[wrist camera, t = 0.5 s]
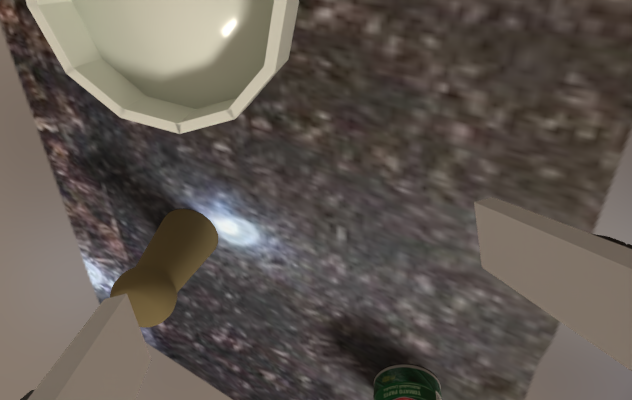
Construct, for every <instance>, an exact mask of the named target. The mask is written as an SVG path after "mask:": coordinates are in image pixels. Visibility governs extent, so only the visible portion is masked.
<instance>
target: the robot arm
mask: <svg viewBox="0 0 632 400" xmlns="http://www.w3.org/2000/svg"><path fill="white" fill-rule="evenodd" d="M474 205H475V213H476V222H477V230H478V238H479V247H480V255H481V263H482V268H484V269H485V270H487V271H488V272H490V273H491V274H492V275H494V276H495V277H497V278H498V279H500V280H501V281H503V282H504V283H505V284H507V285H508V286H510V287H511V288H513V289H514V290H516V291H517V292H518V293H520V294H521V295H523V296H524V297H526V298H527V299H528V300H530V301H531V302H533V303H534V304H536V305H537V306H539V307H540V308H541V309H543V310H544V311H546V312H547V313H549V314H550V315H552V316H553V317H554V318H556V319H557V320H559V321H560V322H562V323H563V324H564V325H566V326H568V327H569V328H570V329H572V330H573V331H575V332H576V333H578V334H579V335H580V336H582V337H583V338H585V339H586V340H588V341H589V342H590V343H592V344H593V345H595V346H596V347H598V348H599V349H600V350H602V351H603V352H605V353H606V354H608V355H609V356H611V357H612V358H613V359H615V360H616V361H618V362H619V363H621V364H622V365H624V366H625V367H626V368H628V369H629V370H631V371H632V245H630V244H627V245H626V244H625V243H624V242H621V241H619V240H616V239H613V238H610V237H606V236H601V235H595V234H590V233H587V232H584V231H582V230H579V229H576V228H574V227H571V226H568V225H566V224H563V223H560V222H558V221H555V220H552V219H550V218H547V217H544V216H542V215H539V214H536V213H534V212H531V211H528V210H525V209H523V208H520V207H517V206H515V205H512V204H509V203H507V202H504V201H501V200H499V199H496V198H493V197H492V198H488V199H484V200H480V201H476V202H474ZM150 363H151V357H150V354H149V352H148V349H147V346H146V344H145V341H144V338H143V336H142V333H141V330H140V328H139V325H138V322H137V319H136V317H135V314H134V311H133V309H132V306H131V303H130V301H129V298H128V295H127V293H126V294H122V295H119V296H115V297H111V298H107V299H104V301H103V302H102V303H101V304H100V306H99V307H98V308H97V310H96V311H95V312H94V314H93V315H92V316H91V317H90V319H89V320H88V322H87V323H86V324H85V325H84V327H83V328H82V329H81V331H80V332H79V333H78V335H77V336H76V337H75V338H74V340H73V341H72V342H71V344H70V345H69V346H68V347H67V349H66V350H65V351H64V353H63V354H62V355H61V357H60V358H59V359H58V360H57V362H56V363H55V364H54V366H53V367H52V368H51V370H50V371H49V372H48V374H47V375H46V376H45V377H44V379H43V380H42V381H41V383H40V384H39V385H38V387H37V388H36V389H35V390H32V391H30V392H29V393H27V394H26V395H25V396H24V397H23V398H22V399H20V400H136V398H137V395H138V393H139V390H140V388H141V385H142V383H143V380H144V378H145V375H146V373H147V370H148V368H149V365H150Z"/></svg>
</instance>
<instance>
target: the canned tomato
mask: <svg viewBox="0 0 632 400" xmlns="http://www.w3.org/2000/svg"><path fill="white" fill-rule="evenodd" d="M374 400H442V396H441V386H440V382H439V380H438V379H437V377H436V376H435V375H434V374H432V373H431V372H430V371H428V370H426V369H424V368H422V367H418V366H414V365H406V364H401V365H394V366H390V367H387V368H385V369H383V370H382V371H380V372H379V373H378V374H377V375H376V377H375V379H374Z"/></svg>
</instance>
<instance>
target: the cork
mask: <svg viewBox="0 0 632 400" xmlns="http://www.w3.org/2000/svg"><path fill="white" fill-rule="evenodd" d="M217 244H218V234H217V231H216V229H215V227H214V225H213V224H212V223H211V221H210V220H209V219H207V218H206V217H205V216H204V215H202V214H200V213H198V212H196V211H194V210H189V209H176V210H174V211H171V212H169V213H168V214H167V215H166V216H165V218H164V219H163V221H162V222H161V224H160V226H159V228H158V229H157V231H156V233H155V234H154V236H153V238H152V240H151V241H150V243H149V245H148V246H147V248H146V250H145V252H144V253H143V255H142V257H141V258H140V260H139V262H138V264H137V265H136V267H135V268H132V269H130V270H128V271H126V272H125V273H123V274H122V275H121V276H120V277H119V279H118V280H117V281H116V282H115V283H114V285H113V287H112V290H111V294H110V298H111V297H115V296H119V295H122V294H126V293H127V295H128V298H129V301H130V303H131V306H132V309H133V311H134V314H135V317H136V319H137V322H138V325H139V327H152V326H155V325H158V324H160V323H162V322H163V321H164V320H165V319H166V318H167V317H168V316H170V315H171V313H172V311H173V310H174V307H175V304H176V301H177V292H178V291H179V290H180V289H181V288H182V286H183V285H184V284H185V283H186V282H187V281H188V280H189V278H190V277H191V276H192V275H193V274H194V273H195V272H196V270H197V269H198V268H199V267H200V266H201V265H202V264H203V263H204V261H205V260H206V259H207V258H208V257H209V256H210V255H211V253H212V252H213V251H214V250H215V249H216V246H217Z"/></svg>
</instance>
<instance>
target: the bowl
mask: <svg viewBox="0 0 632 400" xmlns="http://www.w3.org/2000/svg"><path fill="white" fill-rule="evenodd" d="M26 2H27V6H28V8H29V10H30V12H31V13H32V15H33V17H34V18H35V20H36V22H37V24H38V25H39V27H40V29H41V31H42V32H43V34H44V36H45V38H46V39H47V41H48V43H49V44H50V46H51V48H52V50H53V51H54V53H55V55H56V57H57V58H58V60H59V62H60V64H61V65H62V67H63V69H64V70H65V72H66V74H68V75H69V76H70V77H71V78H72V79H74V80H75V81H76V82H77V83H79V84H80V85H81V86H82V87H83V88H85V89H86V90H87V91H88V92H90V93H91V94H92V95H93V96H95V97H96V98H97V99H98V100H99V101H101V102H102V103H103V104H104V105H106V106H107V107H108V108H109V109H110V110H112V111H113V112H114V113H115V114H117V115H118V116H119V117H120V118H123V119H127V120H131V121H134V122H138V123H142V124H145V125H149V126H153V127H156V128H160V129H164V130H167V131H171V132H175V133H178V134H181V133H185V132H189V131H192V130H196V129H200V128H203V127H207V126H211V125H215V124H218V123H222V122H226V121H229V120H233V119H236V118H237V117H238V116H239V115H240V113H241V112H242V111H243V110H244V109H245V108H246V107H247V106H248V105H249V104H250V103H251V102H252V101H253V100H254V98H255V97H256V96H257V95H258V94H259V93H260V91H261V90H262V89H263V88H264V87H265V86H266V84H267V83H268V82H269V81H270V80H271V79H272V77H273V76H274V75H275V74H276V73H277V72H278V71H279V69H280V68H281V67H282V66H283V65H284V64H285V62H286V61H287V60H288V59H289V53H290V48H291V42H292V37H293V31H294V26H295V20H296V15H297V9H298V4H299V0H26Z"/></svg>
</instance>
